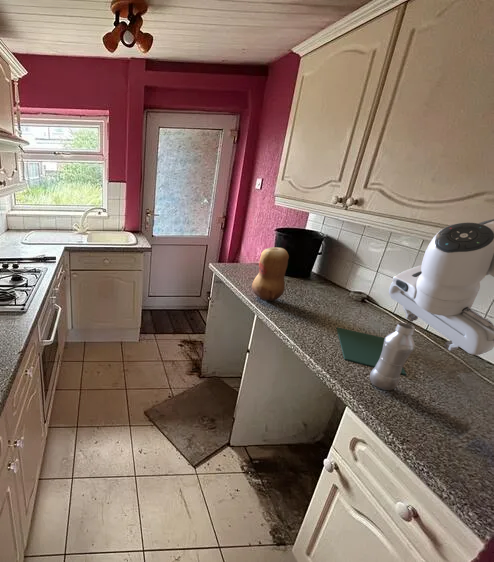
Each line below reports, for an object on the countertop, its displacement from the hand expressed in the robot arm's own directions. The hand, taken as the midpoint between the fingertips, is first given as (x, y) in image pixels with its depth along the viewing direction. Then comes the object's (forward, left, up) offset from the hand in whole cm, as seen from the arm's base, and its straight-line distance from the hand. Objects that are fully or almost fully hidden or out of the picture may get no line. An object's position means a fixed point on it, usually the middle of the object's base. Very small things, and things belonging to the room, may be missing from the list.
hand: (429, 332), depth 73 cm
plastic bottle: (-5, -10, -24) cm, 26 cm away
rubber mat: (-16, -29, -24) cm, 40 cm away
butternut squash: (+1, -69, -24) cm, 73 cm away
